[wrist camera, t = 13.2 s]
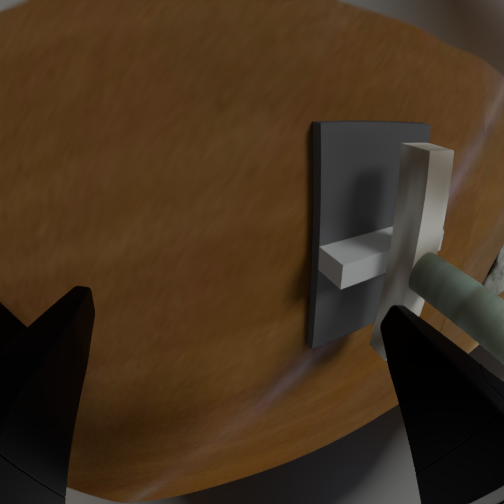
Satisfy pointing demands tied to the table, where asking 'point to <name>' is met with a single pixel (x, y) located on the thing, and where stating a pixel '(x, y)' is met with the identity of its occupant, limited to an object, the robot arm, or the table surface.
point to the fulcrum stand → (353, 220)
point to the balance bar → (432, 255)
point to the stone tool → (496, 275)
